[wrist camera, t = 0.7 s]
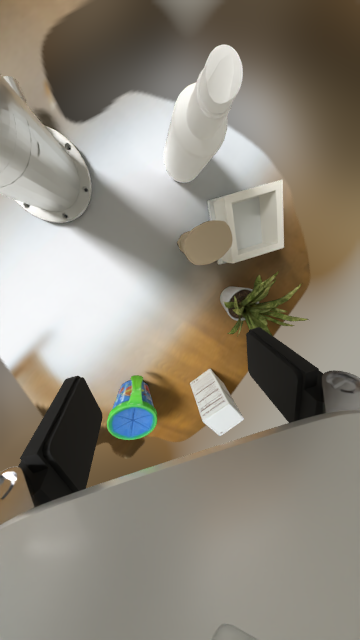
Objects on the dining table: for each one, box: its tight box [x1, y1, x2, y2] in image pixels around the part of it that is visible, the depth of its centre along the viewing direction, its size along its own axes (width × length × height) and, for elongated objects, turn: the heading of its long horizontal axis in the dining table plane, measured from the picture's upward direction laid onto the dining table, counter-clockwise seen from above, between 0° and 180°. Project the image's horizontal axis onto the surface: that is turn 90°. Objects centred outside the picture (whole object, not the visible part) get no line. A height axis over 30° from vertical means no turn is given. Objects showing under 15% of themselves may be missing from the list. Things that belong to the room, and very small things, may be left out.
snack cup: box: [107, 375, 157, 440], centre depth 44 cm, size 16×10×10 cm
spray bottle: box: [163, 45, 243, 183], centre depth 24 cm, size 7×7×18 cm
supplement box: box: [190, 369, 244, 436], centre depth 47 cm, size 7×7×13 cm
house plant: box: [220, 272, 307, 337], centre depth 37 cm, size 14×14×16 cm
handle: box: [177, 220, 233, 265], centre depth 30 cm, size 5×6×15 cm
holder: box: [207, 180, 284, 265], centre depth 35 cm, size 12×12×6 cm
